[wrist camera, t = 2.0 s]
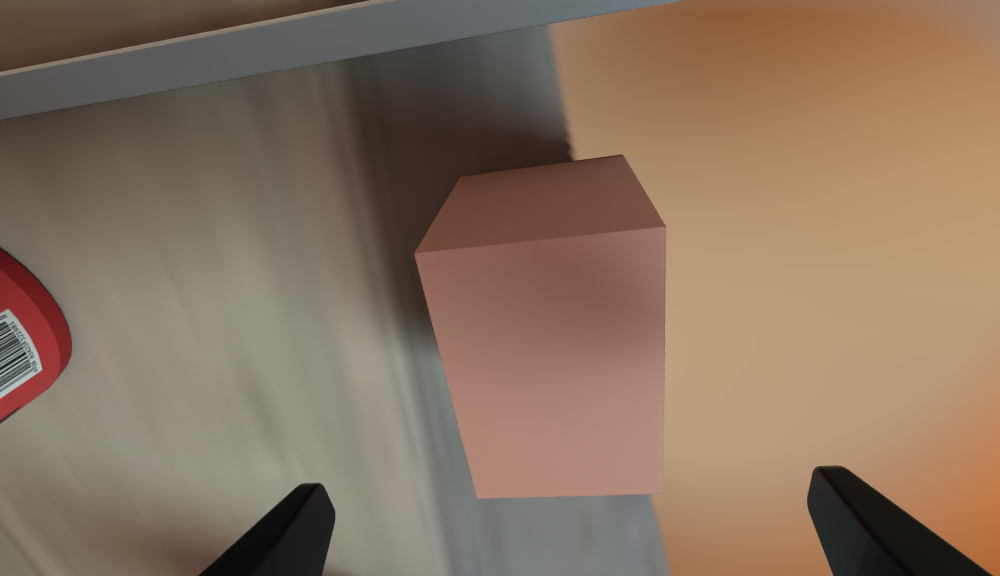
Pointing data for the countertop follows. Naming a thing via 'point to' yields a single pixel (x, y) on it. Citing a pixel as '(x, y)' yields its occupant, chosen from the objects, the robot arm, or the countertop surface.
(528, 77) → the countertop surface
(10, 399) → the canned food
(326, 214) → the countertop surface
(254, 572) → the robot arm
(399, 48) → the price rail
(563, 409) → the salmon pink block
